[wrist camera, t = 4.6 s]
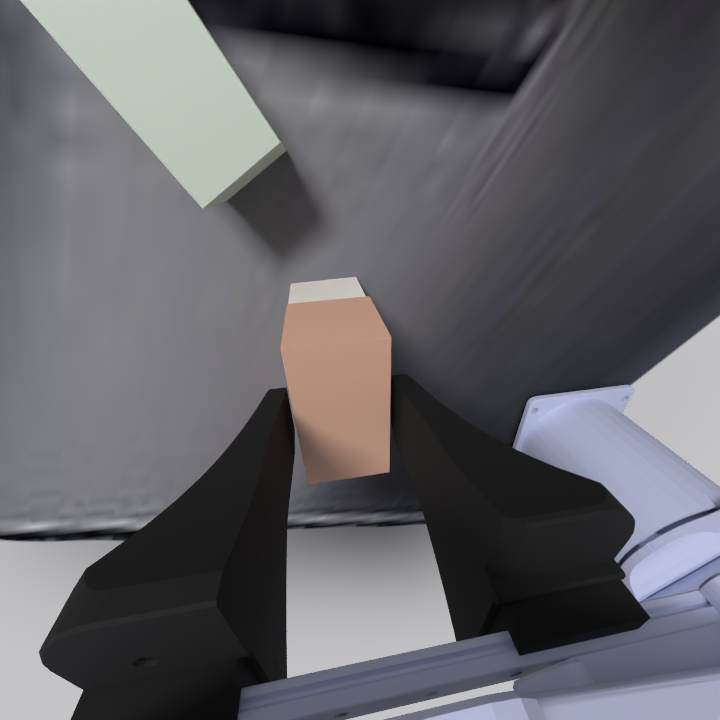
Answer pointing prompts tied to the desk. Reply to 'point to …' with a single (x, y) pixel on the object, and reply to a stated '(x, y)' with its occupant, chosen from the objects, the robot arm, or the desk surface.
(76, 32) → the sage brick
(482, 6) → the desk surface
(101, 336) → the desk surface
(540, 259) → the desk surface
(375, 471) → the terracotta brick
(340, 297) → the cream brick
